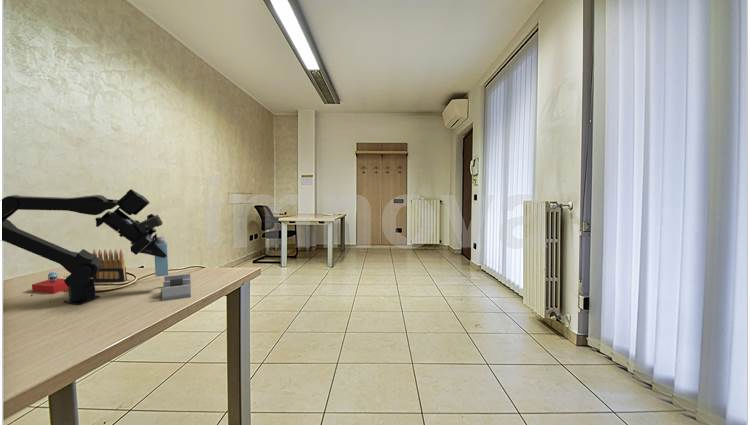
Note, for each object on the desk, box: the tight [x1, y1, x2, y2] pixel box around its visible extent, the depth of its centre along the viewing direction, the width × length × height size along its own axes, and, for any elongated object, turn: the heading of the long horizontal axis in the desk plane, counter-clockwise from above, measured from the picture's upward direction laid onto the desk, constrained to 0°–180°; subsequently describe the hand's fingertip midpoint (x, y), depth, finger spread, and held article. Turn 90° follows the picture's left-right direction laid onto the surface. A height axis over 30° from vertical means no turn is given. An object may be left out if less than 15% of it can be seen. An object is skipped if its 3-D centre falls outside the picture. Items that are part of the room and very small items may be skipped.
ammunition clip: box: [91, 249, 128, 283], centre depth 123 cm, size 11×2×12 cm, turn 98°
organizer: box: [161, 273, 192, 302], centre depth 116 cm, size 8×14×6 cm, turn 29°
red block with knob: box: [31, 271, 68, 295], centre depth 114 cm, size 8×7×6 cm
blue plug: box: [154, 236, 169, 277], centre depth 115 cm, size 4×4×13 cm
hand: (166, 255), depth 116 cm, fingers closed on blue plug, 4 cm apart
